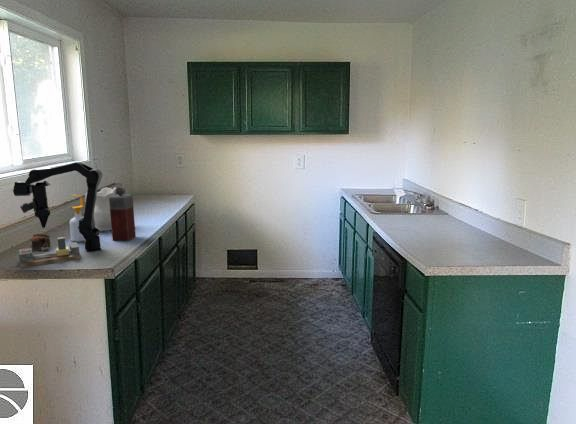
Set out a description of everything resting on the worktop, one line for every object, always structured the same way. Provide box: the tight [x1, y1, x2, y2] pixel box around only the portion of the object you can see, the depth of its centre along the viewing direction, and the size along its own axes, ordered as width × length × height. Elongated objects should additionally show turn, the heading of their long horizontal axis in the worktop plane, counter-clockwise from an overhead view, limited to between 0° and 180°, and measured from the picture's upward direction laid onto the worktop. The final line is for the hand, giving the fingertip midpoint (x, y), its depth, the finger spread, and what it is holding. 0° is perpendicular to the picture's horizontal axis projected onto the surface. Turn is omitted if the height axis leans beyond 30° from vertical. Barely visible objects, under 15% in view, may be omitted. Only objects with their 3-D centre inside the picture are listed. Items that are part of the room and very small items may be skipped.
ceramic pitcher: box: [84, 187, 118, 232], centre depth 261 cm, size 22×20×25 cm
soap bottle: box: [68, 193, 85, 243], centre depth 237 cm, size 9×9×25 cm
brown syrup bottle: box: [109, 186, 137, 242], centre depth 239 cm, size 9×11×28 cm
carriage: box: [55, 236, 70, 256], centre depth 205 cm, size 5×5×8 cm
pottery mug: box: [29, 233, 51, 251], centre depth 224 cm, size 12×10×8 cm
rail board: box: [18, 241, 82, 268], centre depth 203 cm, size 24×11×6 cm, turn 121°
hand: (43, 227), depth 214 cm, fingers closed
